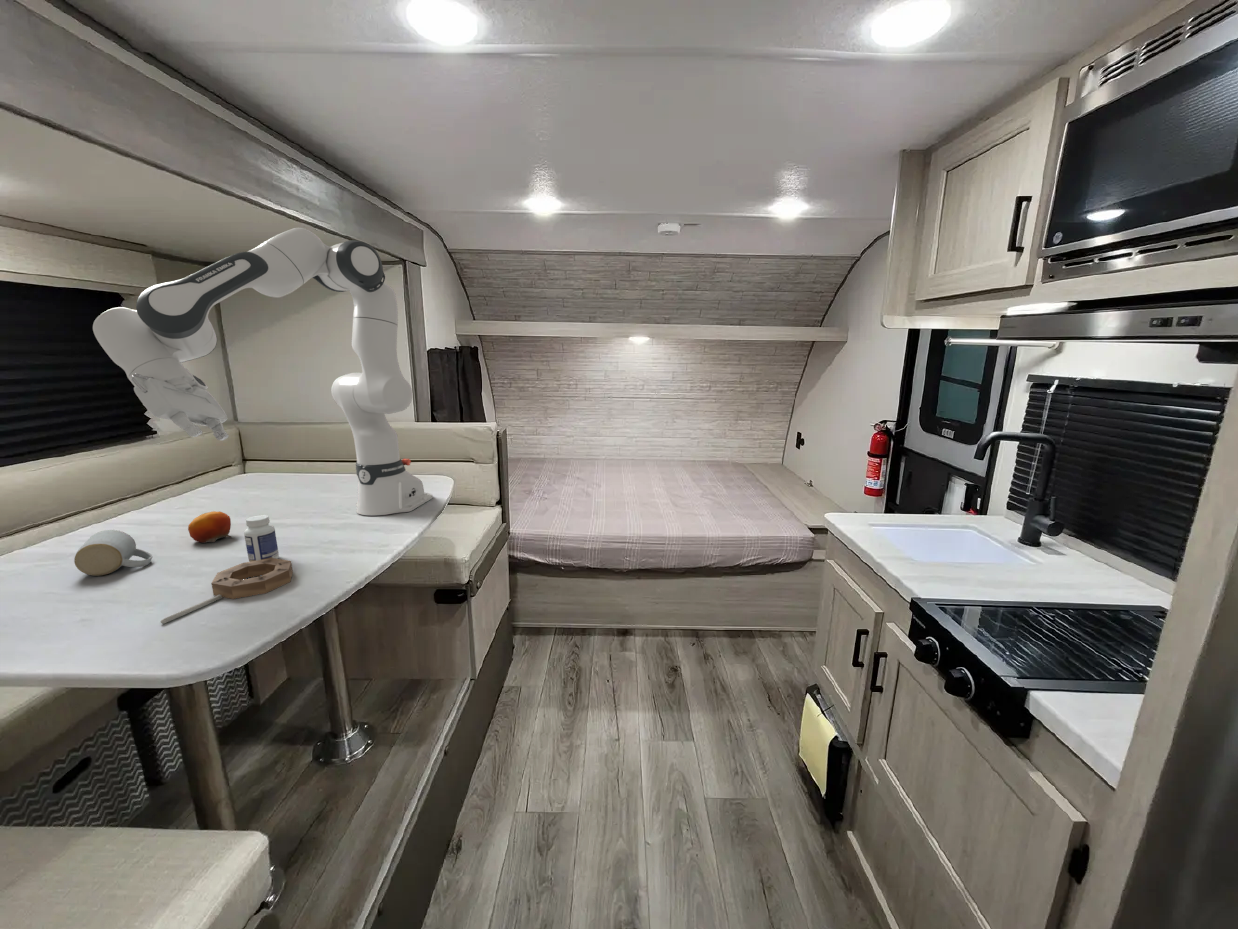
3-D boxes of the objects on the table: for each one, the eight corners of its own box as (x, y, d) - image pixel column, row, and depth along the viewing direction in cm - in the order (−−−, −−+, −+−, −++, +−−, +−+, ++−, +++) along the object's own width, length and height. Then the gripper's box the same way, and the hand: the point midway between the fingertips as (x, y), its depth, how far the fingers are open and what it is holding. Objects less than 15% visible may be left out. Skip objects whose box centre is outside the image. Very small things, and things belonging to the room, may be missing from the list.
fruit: (215, 541, 114) (195, 512, 113) (195, 555, 116) (175, 527, 116) (247, 529, 122) (229, 502, 121) (228, 543, 124) (209, 516, 123)
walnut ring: (261, 567, 104) (259, 556, 103) (306, 574, 100) (304, 562, 100) (199, 593, 92) (197, 580, 92) (247, 601, 89) (245, 589, 88)
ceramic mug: (75, 581, 97) (66, 544, 95) (91, 566, 104) (83, 532, 102) (147, 570, 102) (140, 535, 101) (157, 557, 109) (151, 524, 108)
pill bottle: (282, 554, 111) (276, 512, 108) (274, 563, 106) (267, 520, 103) (254, 557, 109) (247, 515, 107) (244, 566, 104) (237, 523, 102)
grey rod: (219, 598, 90) (218, 594, 90) (222, 598, 90) (221, 594, 90) (159, 624, 82) (159, 620, 81) (163, 625, 81) (162, 620, 81)
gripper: (143, 362, 91) (194, 422, 92) (208, 383, 111) (250, 432, 112) (109, 381, 90) (162, 442, 91) (182, 399, 110) (224, 448, 111)
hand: (211, 437), depth 102 cm, fingers open, 8 cm apart
